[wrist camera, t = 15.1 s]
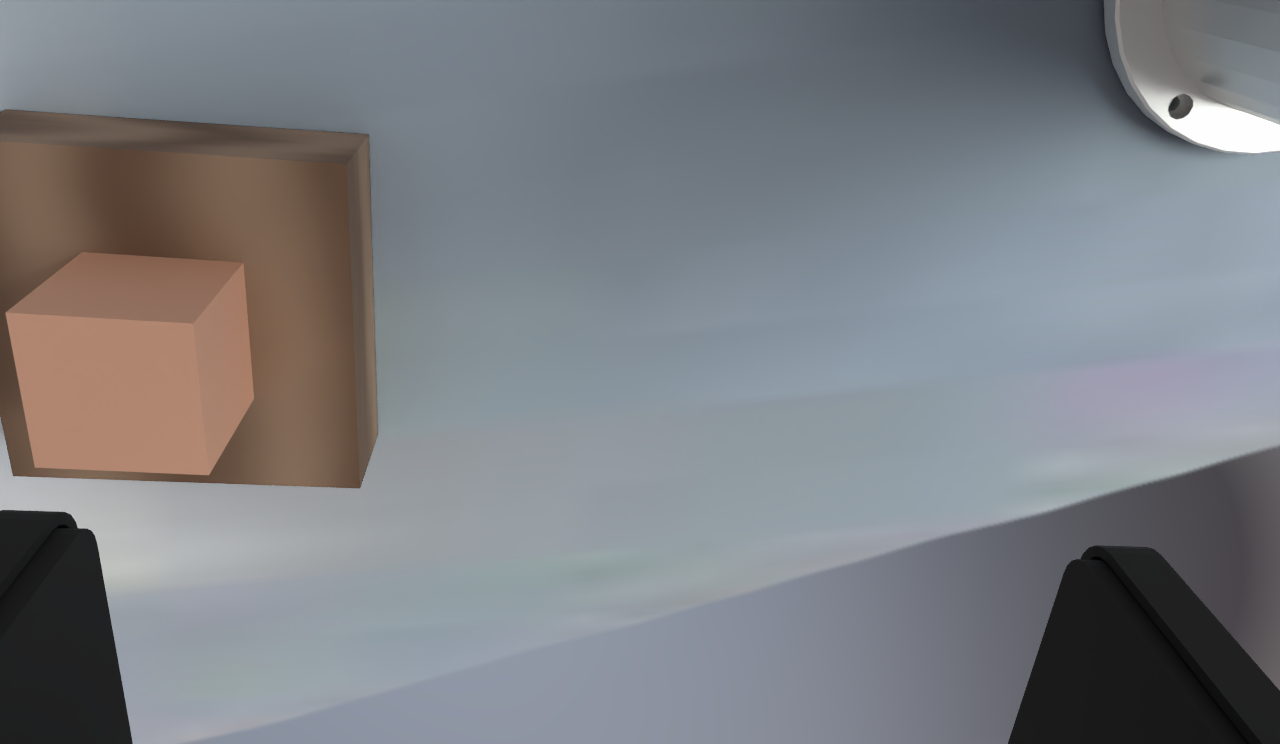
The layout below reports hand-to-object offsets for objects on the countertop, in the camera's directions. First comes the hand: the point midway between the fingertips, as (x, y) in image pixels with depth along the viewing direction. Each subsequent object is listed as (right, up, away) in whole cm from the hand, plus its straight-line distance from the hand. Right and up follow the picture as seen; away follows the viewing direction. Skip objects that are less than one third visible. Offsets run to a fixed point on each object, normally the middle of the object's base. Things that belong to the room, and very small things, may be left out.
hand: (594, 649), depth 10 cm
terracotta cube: (-15, +4, +24) cm, 29 cm away
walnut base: (-15, +6, +28) cm, 32 cm away
